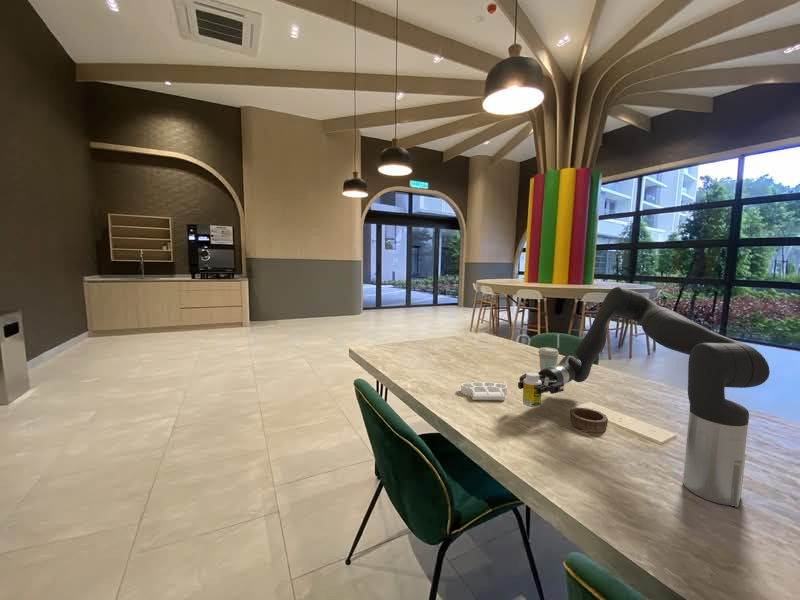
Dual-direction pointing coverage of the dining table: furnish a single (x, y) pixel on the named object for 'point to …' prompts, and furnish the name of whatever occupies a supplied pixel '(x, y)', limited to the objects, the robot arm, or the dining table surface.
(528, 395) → the supplement bottle
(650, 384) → the dining table surface
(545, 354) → the coffee cup
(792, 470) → the dining table surface
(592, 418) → the brown wooden bowl
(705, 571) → the dining table surface
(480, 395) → the white brass knuckles
